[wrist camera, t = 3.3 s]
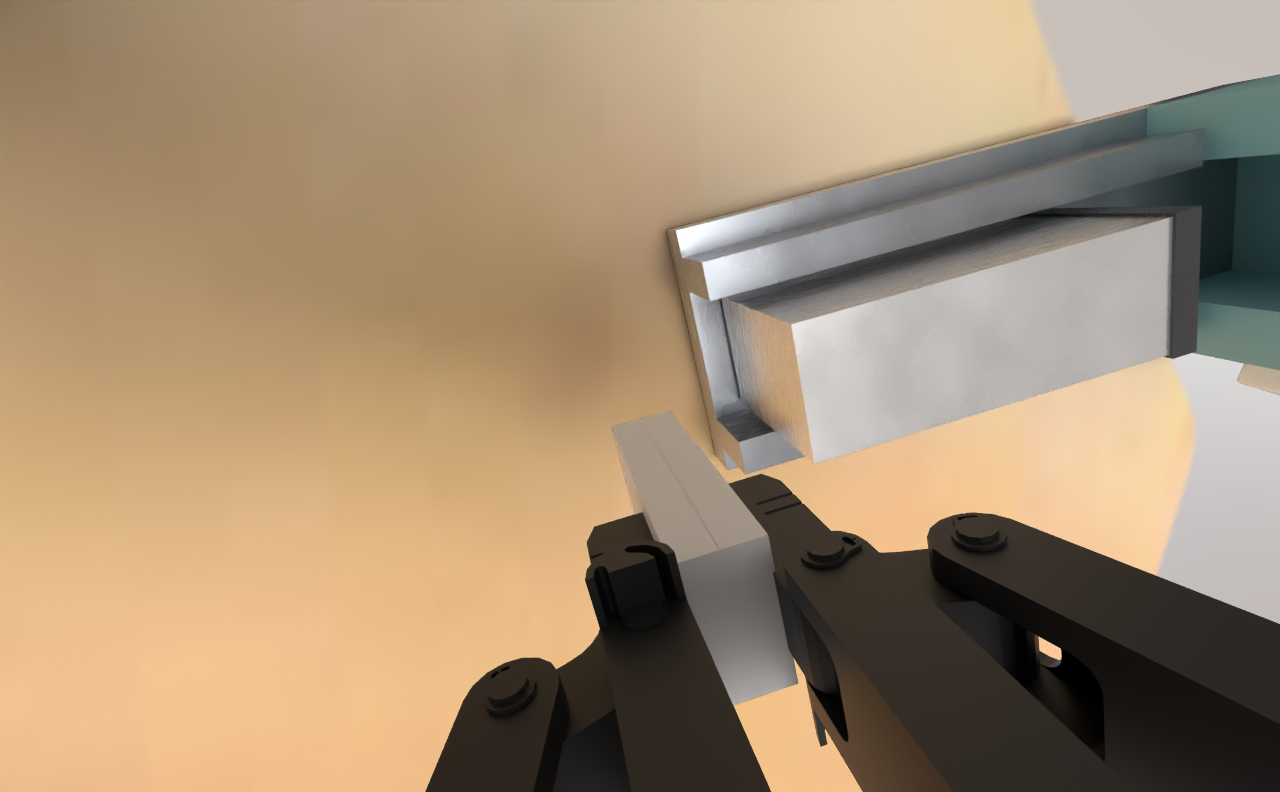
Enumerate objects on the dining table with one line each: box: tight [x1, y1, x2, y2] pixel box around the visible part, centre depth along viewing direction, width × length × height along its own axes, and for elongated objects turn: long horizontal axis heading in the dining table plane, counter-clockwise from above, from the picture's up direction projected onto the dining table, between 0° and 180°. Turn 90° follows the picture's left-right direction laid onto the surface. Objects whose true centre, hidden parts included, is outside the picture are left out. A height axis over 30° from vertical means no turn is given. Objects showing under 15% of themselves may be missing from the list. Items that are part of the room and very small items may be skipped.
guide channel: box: [667, 77, 1264, 474], centre depth 23 cm, size 9×23×4 cm, turn 103°
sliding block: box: [721, 206, 1202, 464], centre depth 20 cm, size 4×12×6 cm, turn 103°
